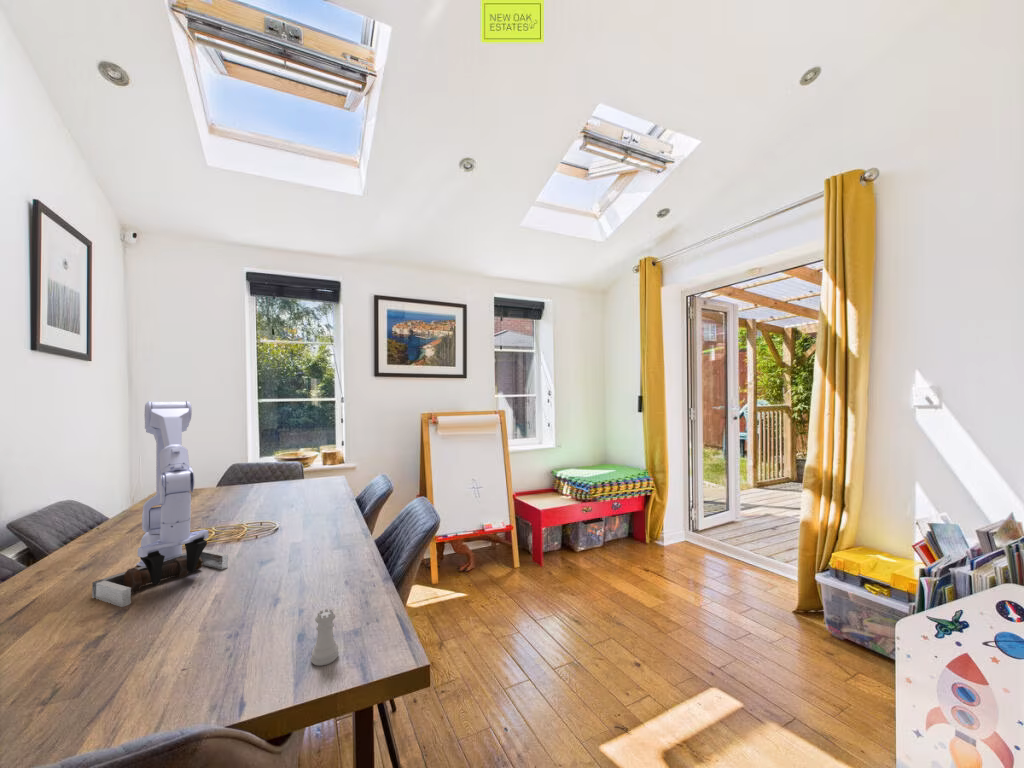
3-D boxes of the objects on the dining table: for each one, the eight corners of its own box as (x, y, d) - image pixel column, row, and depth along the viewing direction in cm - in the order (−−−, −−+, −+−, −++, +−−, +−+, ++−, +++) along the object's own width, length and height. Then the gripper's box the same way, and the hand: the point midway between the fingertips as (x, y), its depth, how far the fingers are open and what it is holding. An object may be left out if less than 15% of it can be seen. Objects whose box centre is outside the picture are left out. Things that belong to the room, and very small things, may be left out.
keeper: (92, 597, 96) (92, 582, 96) (199, 561, 117) (199, 548, 117) (122, 607, 91) (122, 590, 92) (227, 567, 113) (228, 554, 113)
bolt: (201, 577, 111) (128, 599, 98) (193, 564, 113) (120, 584, 100) (208, 559, 110) (135, 579, 97) (199, 547, 112) (127, 564, 99)
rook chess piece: (316, 651, 76) (317, 606, 76) (342, 650, 76) (342, 605, 76) (306, 667, 71) (307, 619, 72) (333, 666, 72) (334, 618, 72)
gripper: (151, 531, 95) (149, 592, 95) (217, 514, 109) (215, 568, 108) (132, 527, 98) (130, 587, 97) (198, 511, 111) (197, 564, 111)
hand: (174, 576), depth 103 cm, fingers open, 7 cm apart
